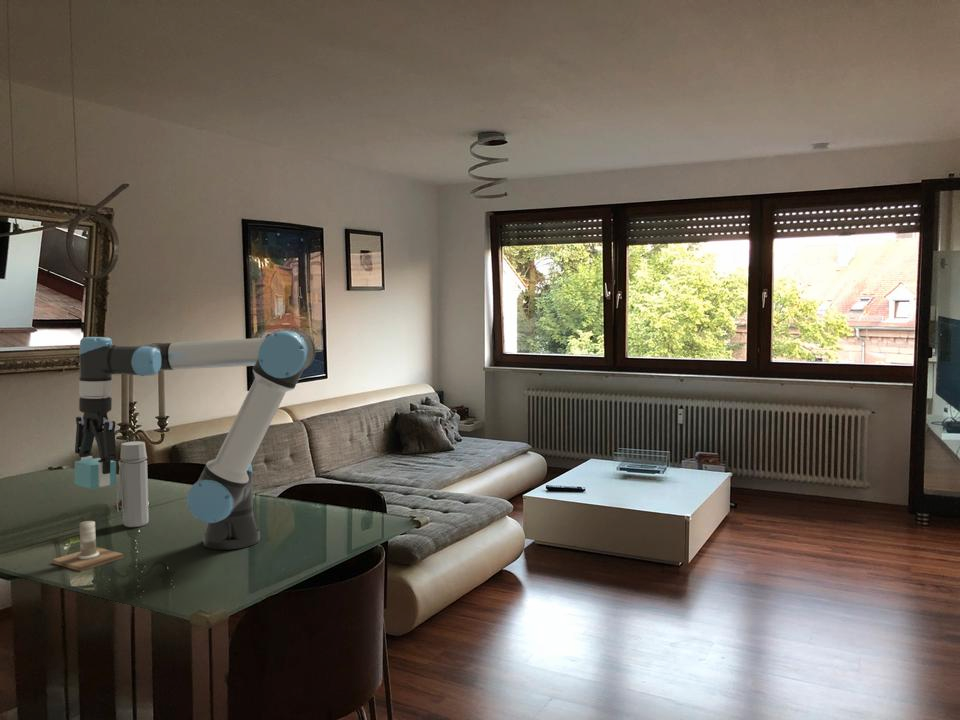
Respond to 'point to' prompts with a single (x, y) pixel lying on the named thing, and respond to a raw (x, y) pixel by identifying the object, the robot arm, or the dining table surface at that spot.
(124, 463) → the water bottle
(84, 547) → the wooden peg stand
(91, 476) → the teal block
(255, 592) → the dining table surface
